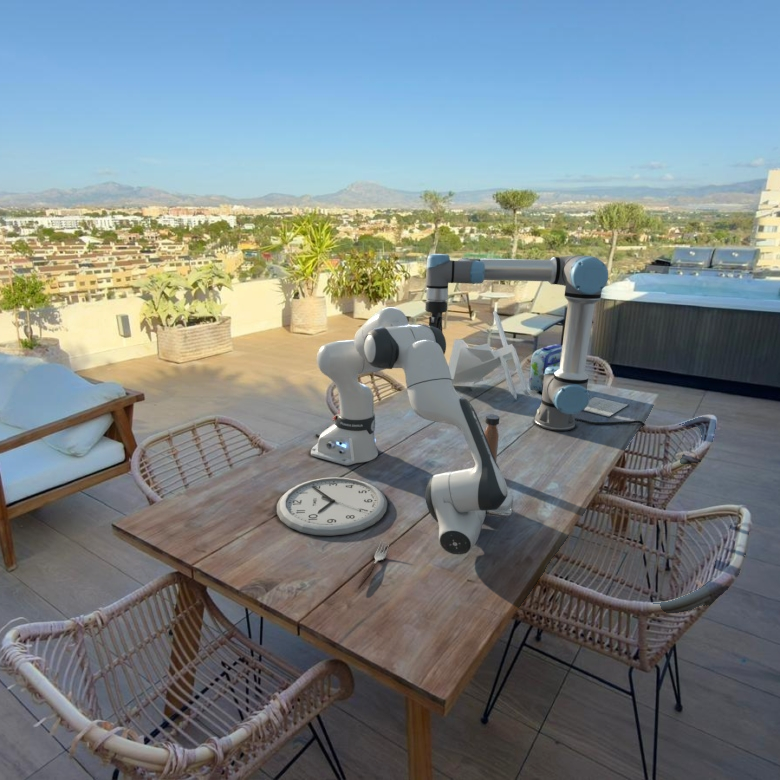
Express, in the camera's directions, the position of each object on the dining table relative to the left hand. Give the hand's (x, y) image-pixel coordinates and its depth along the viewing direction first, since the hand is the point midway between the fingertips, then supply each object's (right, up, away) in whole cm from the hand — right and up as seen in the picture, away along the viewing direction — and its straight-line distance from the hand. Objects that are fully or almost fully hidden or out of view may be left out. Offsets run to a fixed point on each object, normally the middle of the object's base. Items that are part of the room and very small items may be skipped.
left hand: (478, 484), depth 143 cm
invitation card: (+67, +19, +83) cm, 109 cm away
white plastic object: (+18, +25, +100) cm, 105 cm away
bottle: (+6, 0, +19) cm, 20 cm away
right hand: (-8, +37, +44) cm, 58 cm away
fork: (-28, -14, -26) cm, 41 cm away
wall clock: (-40, -6, 0) cm, 40 cm away
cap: (+7, +18, +13) cm, 23 cm away
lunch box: (+52, +26, +107) cm, 122 cm away
